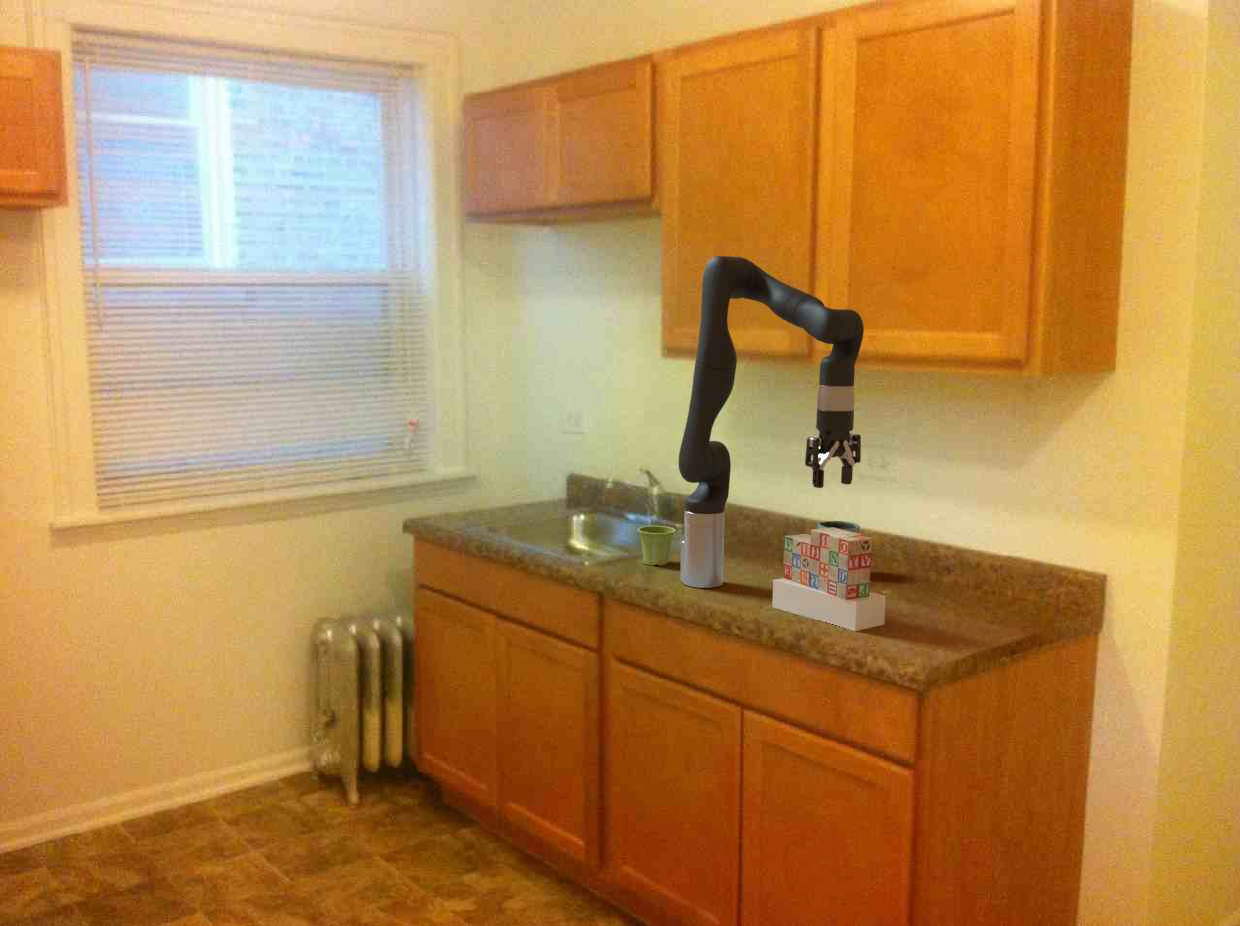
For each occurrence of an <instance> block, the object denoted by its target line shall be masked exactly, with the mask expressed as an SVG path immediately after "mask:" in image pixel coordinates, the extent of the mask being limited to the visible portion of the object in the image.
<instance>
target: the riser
mask: <svg viewBox="0 0 1240 926" xmlns="http://www.w3.org/2000/svg"><path fill="white" fill-rule="evenodd" d="M772 608H773V609H777V610H781V611H785V612H787V613H790V614H795V615H798V616H801V617H804V618H808V619H812V620H814V621H818V620H820V621H819V622H821V621H823V622H822V623H825V622H827V623H826V624H828V623H830V624H829V625H831V624H834V625H833V626H835V625H837V626H836V627H838V626H840V628H842V627H843V628H842V629H845V628H846V630H848V629H849V631H851V632H859V631H863V630H865V629H872V628H875V627H879V626H884V625H885V616H886V595H884V594H881V593H877V592H874V591H873V592H871V591H870V592H869V597H863V598H856V599H849V600H845V599H842V598H839V597H837V596H834V595H831V594H829V593H826V592H823V591H821V590H818V589H815V588H812V587H810V586H806V585H804V584H801V583H798V582H795V581H793V580H790V579H787V578H784V577H782V578H776V579H773V580H772Z"/></svg>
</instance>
